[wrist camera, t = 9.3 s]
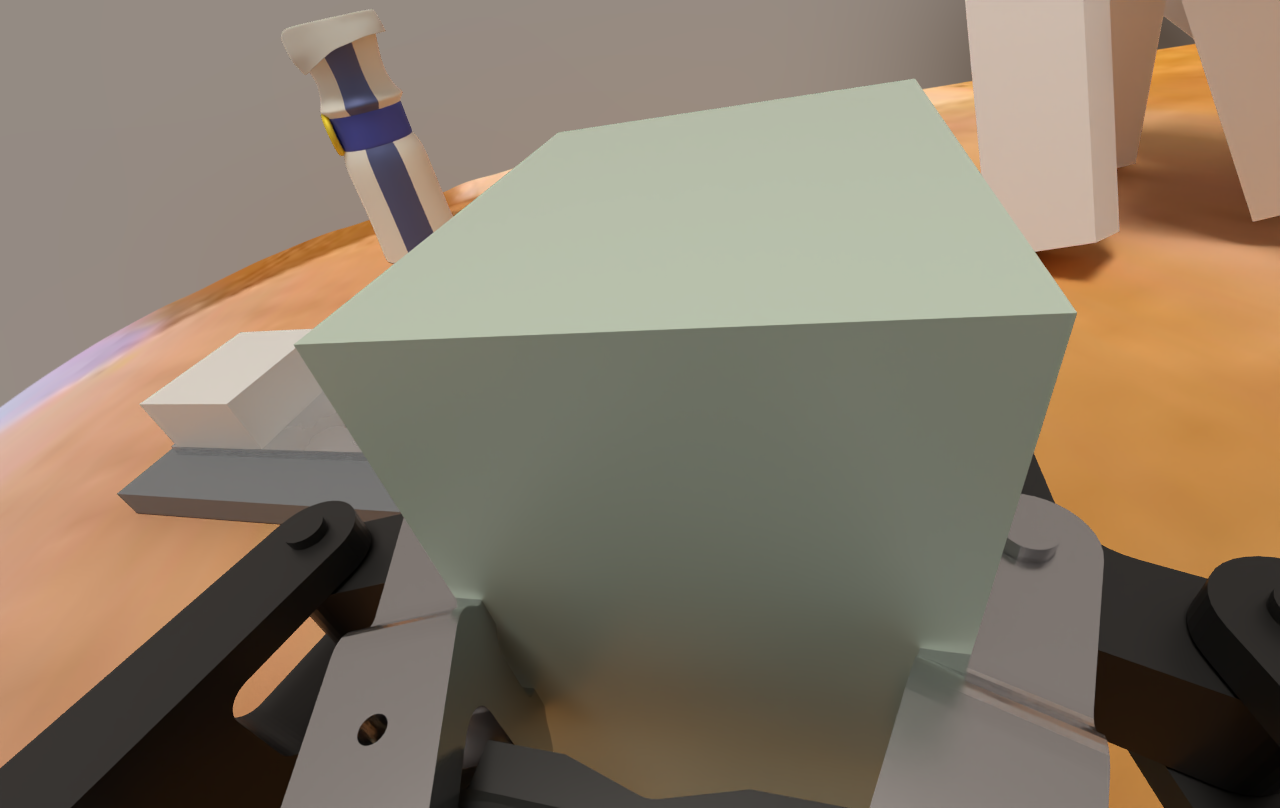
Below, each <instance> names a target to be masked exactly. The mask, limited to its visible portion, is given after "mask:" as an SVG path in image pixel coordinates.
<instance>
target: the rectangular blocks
mask: <svg viewBox="0 0 1280 808" xmlns="http://www.w3.org/2000/svg"><path fill="white" fill-rule="evenodd" d="M311 330H312V329H301V330H280V331H259V332H240V333H239V334H237V335H236V336H235V337H233V338H232V339H230V340H229V341H228V342H226V343H225V344H223V345H222V346H221V347H219V348H218V349H216V350H215V351H214V352H212V353H211V354H209V355H208V356H206V357H205V358H204V359H202V360H201V361H199V362H198V363H197V364H195V365H194V366H192V367H191V368H190V369H188V370H187V371H185V372H184V373H183V374H181V375H180V376H178V377H177V378H176V379H174V380H173V381H171V382H170V383H168V384H167V385H166V386H164V387H163V388H161V389H160V390H159V391H157V392H156V393H154V394H153V395H152V396H150V397H149V398H147V399H146V400H145V401H143V402H142V403H140V406H141V407H142V408H143V409H144V410H145V411H146V412H147V413H148V414H149V416H150V417H151V418H152V419H153V420H154V421H155V422H156V423H157V424H158V426H159V427H160V428H161V429H162V430H163V431H164V432H165V433H166V435H167V436H168V437H169V438H170V439H171V440H172V441H173V442H174V443H175V445H176V446H177V447H195V448H229V449H263V448H264V447H265V446H266V445H267V444H268V443H269V442H270V441H271V440H272V439H273V438H274V437H275V436H277V435H278V434H279V433H280V432H281V431H282V430H283V429H284V428H285V427H286V426H287V425H288V424H289V423H290V422H291V421H292V420H293V419H294V418H295V417H297V416H298V415H299V414H300V413H301V412H302V411H303V410H304V409H305V408H306V407H307V406H308V405H309V404H310V403H311V402H312V401H313V400H314V399H315V398H316V397H318V396H319V395H320V394H321V393H322V392H323V390H322V389H321V387H320V385H319V384H318V382H317V381H316V379H315V378H314V376H313V374H312V373H311V371H310V370H309V368H308V367H307V365H306V364H305V362H304V360H303V359H302V357H301V356H300V354H299V353H298V351H297V349H296V348H295V346H294V344H295V343H296V342H297V341H299V340H300V339H301V338H302V337H304V336H305V335H306V334H307V333H309V332H310V331H311Z"/></svg>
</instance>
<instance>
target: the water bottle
mask: <svg viewBox="0 0 1280 808" xmlns="http://www.w3.org/2000/svg"><path fill="white" fill-rule="evenodd" d="M384 31H385V29H384V27H383V25H382V23H381V21H380V19H379V17H378V16H377V14H376V12H375V11H374V10H373V9H369V10H364V11H359V12H354V13H349V14H345V15H340V16H335V17H331V18H326V19H322V20H318V21H314V22H309V23H305V24H301V25H297V26H293V27H290V28H287V29H285V30H284V31H283V32H282V36H281V40H282V42H283V45H284V47H285V49H286V51H287V53H288V55H289V57H290V59H291V60H292V61H293V63H294V64H295V65H296V66H297V67H298V68H299V69H300V70H301V72H302V73H303V74H304V75H307V74H308V73H310V74H311V75H312V77H313V79H314V80H315V82H316V84H317V86H318V91H319V95H320V101H321V107H320V112H321V118H322V121H323V123H324V126H325V129H326V131H327V133H328V135H329V137H330V139H331V141H332V144H333V146H334V147H335V149H336V151H337V152H338V154H339V155H341V156H344V160H345V164H346V167H347V170H348V172H349V175H350V177H351V179H352V182H353V184H354V186H355V188H356V190H357V192H358V195H359V197H360V199H361V201H362V204H363V206H364V208H365V210H366V212H367V215H368V217H369V219H370V222H371V224H372V226H373V229H374V231H375V233H376V236H377V238H378V241H379V243H380V246H381V248H382V250H383V253H384V255H385V258H386V260H387V261H388V262H390V263H394V264H395V263H396V262H397V261H399V260H400V259H401V258H402V257H404V256H405V255H406V254H407V253H409V252H410V251H411V250H412V249H414V248H415V247H416V246H417V245H419V244H420V243H421V242H422V241H424V240H425V239H426V238H427V237H429V236H430V235H431V234H432V233H434V232H435V231H436V230H437V229H439V228H440V227H441V226H442V225H444V224H445V223H446V222H447V221H449V220H450V219H451V218H452V217H453V215H452V213H451V211H450V209H449V206H448V204H447V202H446V199H445V197H444V195H443V192H442V190H441V188H440V185H439V183H438V180H437V178H436V175H435V173H434V170H433V168H432V165H431V163H430V160H429V158H428V155H427V153H426V151H425V149H424V147H423V145H422V143H421V141H420V140H419V138H418V137H417V136H416V135H415V134H414V133H413V132H412V129H411V126H410V124H409V122H408V119H407V116H406V114H405V111H404V109H403V106H402V104H401V101H400V98H401V95H402V90H401V89H399V88H398V87H397V86H396V85H395V84H394V83H393V82H392V80H391V79H390V77H389V76H388V74H387V72H386V70H385V68H384V66H383V63H382V59H381V56H380V52H379V47H378V43H377V38H376V33H380V32H384Z"/></svg>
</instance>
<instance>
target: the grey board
mask: <svg viewBox="0 0 1280 808" xmlns="http://www.w3.org/2000/svg"><path fill="white" fill-rule="evenodd" d="M117 494H118V495H119V496H120V497H121V498H122V499H123V500H124V501H125V502H126V503H127V504H128V505H129V506H130V507H131V508H132V509H133V510H134V511H135V512H136V513H143V514H156V515H169V516H182V517H195V518H208V519H221V520H234V521H247V522H260V523H273V524H282V523H284V522H285V521H286V520H287V519H289V518H290V517H292V516H293V515H295V514H296V513H298V512H300V511H302V510H303V509H305V508H308V507H310V506H312V505H315V504H318V503H322V502H326V501H343V502H346V503H348V504H350V505H351V506H352V507H353V508H354V510H355V511H356V513H357V514H358V515H359V517H360V518H361V520H362V521H363V522H366V521H371V520H375V519H380V518H385V517H389V516H394V515H398V514H401V512H400V511H399V509H398V508H397V506H396V504H395V503H394V501H393V500H392V498H391V497H390V495H389V493H388V492H387V490H386V489H385V487H384V486H383V484H382V482H381V481H380V479H379V478H378V476H377V475H376V473H375V472H374V470H373V468H372V467H371V465H370V464H369V462H368V461H346V460H317V459H287V458H258V457H229V456H200V455H178V454H177V453H176V452H175V451H174V449H173V448H172V449H171V450H170V451H169V452H168V453H166V454H165V455H164V456H163V457H161V458H160V459H159V460H158V461H157V462H155V463H154V464H153V465H152V466H150V467H149V468H148V469H147V470H146V471H144V472H143V473H142V474H141V475H139V476H138V477H137V478H136V479H135V480H133V481H132V482H131V483H130V484H128V485H127V486H126V487H125V488H124V489H122V490H121V491H120V492H119V493H117Z"/></svg>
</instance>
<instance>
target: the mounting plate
mask: <svg viewBox="0 0 1280 808" xmlns="http://www.w3.org/2000/svg"><path fill="white" fill-rule="evenodd" d="M171 447H172V448H173V449H174V451H175V452H176V453H177V454H178V455H200V456H229V457H258V458H287V459H317V460H346V461H367V459H366V457H365V456H364V454H363V453H362V451H361V450H360V448H359V446H358V445H357V443H356V442H355V440H354V439H353V437H352V436H351V434H350V432H349V431H348V429H347V428H346V426H345V425H344V423H343V421H342V420H341V418H340V417H339V415H338V414H337V412H336V410H335V409H334V407H333V406H332V404H331V403H330V401H329V400H328V398H327V396H326V395H325V393H324V392H322V393H321V394H320V395H319V396H318V397H316V398H315V399H314V400H313V401H312V402H311V403H310V404H309V405H308V406H307V407H306V408H305V409H304V410H303V411H302V412H301V413H300V414H299V415H298V416H297V417H295V418H294V419H293V420H292V421H291V422H290V423H289V424H288V425H287V426H286V427H285V428H284V429H283V430H282V431H281V432H280V433H279V434H278V435H277V436H275V437H274V438H273V439H272V440H271V441H270V442H269V443H268V444H267V445H266V446H265V447H264V448H263V449H229V448H195V447H177V446H176V445H175V444H174V445H173V446H171Z"/></svg>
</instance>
